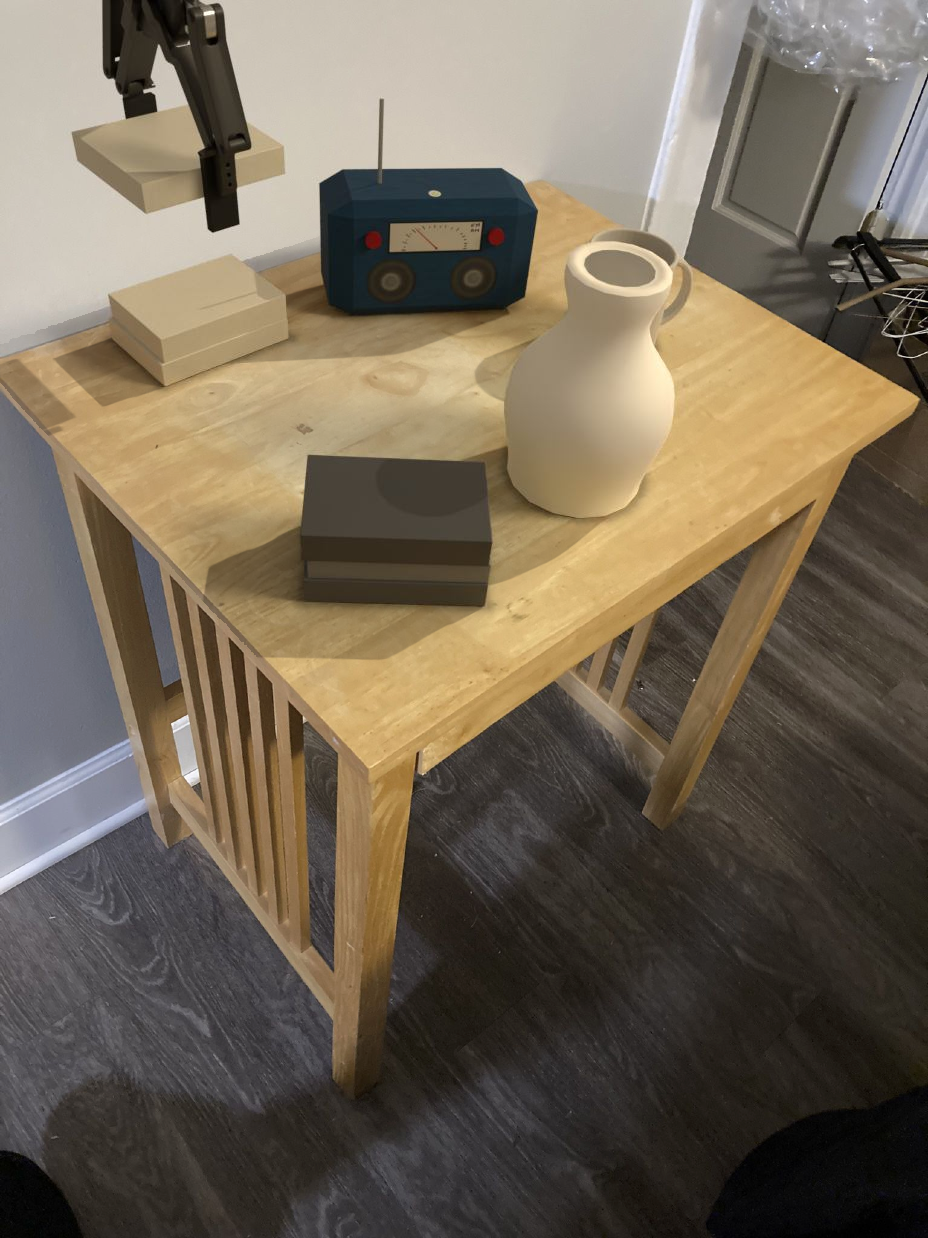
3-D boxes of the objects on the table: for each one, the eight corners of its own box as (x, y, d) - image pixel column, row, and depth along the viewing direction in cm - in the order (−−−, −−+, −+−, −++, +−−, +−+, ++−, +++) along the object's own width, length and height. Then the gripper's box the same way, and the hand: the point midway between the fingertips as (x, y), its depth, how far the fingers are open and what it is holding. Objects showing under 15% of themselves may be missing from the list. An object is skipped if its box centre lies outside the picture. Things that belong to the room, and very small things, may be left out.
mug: (562, 349, 100) (580, 259, 93) (582, 305, 106) (601, 216, 99) (665, 376, 99) (691, 286, 91) (679, 329, 105) (705, 241, 97)
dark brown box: (303, 601, 74) (300, 535, 69) (309, 520, 80) (307, 454, 75) (485, 606, 76) (495, 541, 70) (478, 526, 81) (487, 461, 76)
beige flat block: (145, 214, 77) (141, 184, 76) (77, 160, 82) (71, 131, 80) (285, 173, 84) (284, 145, 82) (214, 126, 89) (211, 98, 87)
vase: (461, 465, 86) (485, 254, 72) (563, 404, 94) (605, 202, 79) (583, 551, 81) (638, 341, 66) (682, 479, 88) (752, 276, 73)
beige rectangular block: (164, 386, 90) (157, 341, 86) (111, 338, 94) (102, 293, 91) (288, 338, 97) (286, 294, 93) (234, 295, 101) (230, 252, 98)
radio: (331, 324, 99) (328, 120, 84) (320, 279, 105) (315, 80, 90) (526, 315, 104) (557, 120, 89) (506, 273, 109) (531, 82, 94)
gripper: (289, -65, 65) (301, 243, 82) (110, -151, 76) (152, 138, 92) (192, -51, 62) (225, 269, 78) (17, -143, 72) (79, 157, 88)
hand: (186, 198), depth 85 cm, fingers closed on beige flat block, 11 cm apart
